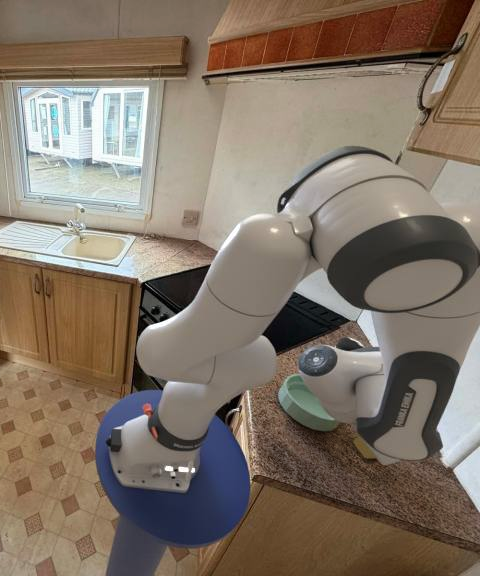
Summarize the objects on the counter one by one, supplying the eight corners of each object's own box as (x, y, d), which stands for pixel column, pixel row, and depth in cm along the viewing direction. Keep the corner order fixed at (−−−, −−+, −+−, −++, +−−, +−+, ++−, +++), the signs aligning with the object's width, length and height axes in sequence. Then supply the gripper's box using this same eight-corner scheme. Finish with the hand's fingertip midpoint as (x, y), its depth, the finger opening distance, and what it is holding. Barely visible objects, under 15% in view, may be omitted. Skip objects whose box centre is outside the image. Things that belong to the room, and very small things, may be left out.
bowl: (300, 434, 81) (309, 422, 78) (266, 387, 93) (273, 375, 90) (351, 430, 83) (362, 417, 80) (311, 385, 95) (319, 372, 92)
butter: (364, 458, 76) (383, 440, 72) (352, 442, 80) (369, 423, 75) (380, 458, 76) (400, 440, 72) (367, 442, 80) (385, 424, 76)
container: (338, 384, 96) (360, 354, 89) (314, 367, 102) (333, 337, 95) (352, 377, 99) (374, 347, 92) (328, 360, 105) (347, 331, 98)
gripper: (400, 440, 55) (419, 470, 61) (329, 358, 73) (348, 387, 78) (363, 453, 58) (384, 481, 63) (302, 370, 75) (323, 398, 81)
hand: (364, 428), depth 71 cm, fingers open, 8 cm apart
